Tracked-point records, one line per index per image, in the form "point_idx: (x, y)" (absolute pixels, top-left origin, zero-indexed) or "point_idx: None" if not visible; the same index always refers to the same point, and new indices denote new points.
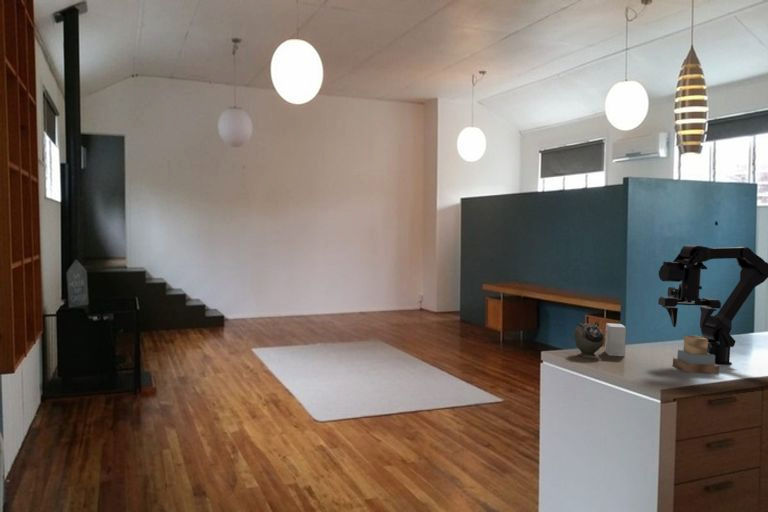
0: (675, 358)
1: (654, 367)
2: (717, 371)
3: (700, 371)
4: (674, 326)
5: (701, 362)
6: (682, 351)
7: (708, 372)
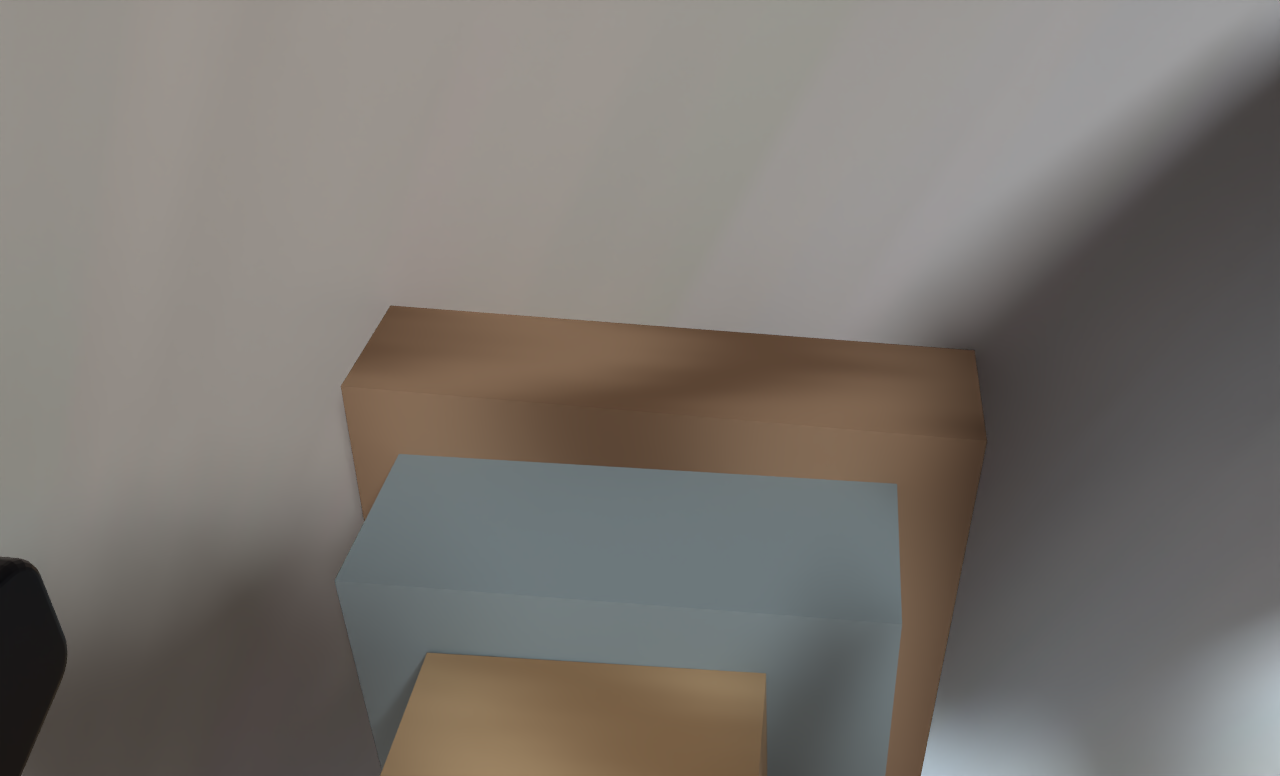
0: (359, 458)
1: (41, 484)
2: None
3: None
4: (11, 685)
5: None
6: (372, 715)
7: None
